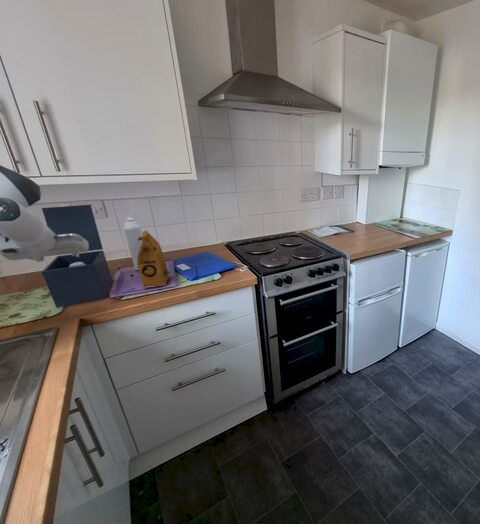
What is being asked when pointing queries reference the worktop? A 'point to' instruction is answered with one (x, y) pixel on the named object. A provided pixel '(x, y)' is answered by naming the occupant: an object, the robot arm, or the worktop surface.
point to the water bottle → (133, 238)
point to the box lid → (74, 223)
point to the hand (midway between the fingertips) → (59, 257)
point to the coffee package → (151, 262)
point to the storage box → (78, 278)
